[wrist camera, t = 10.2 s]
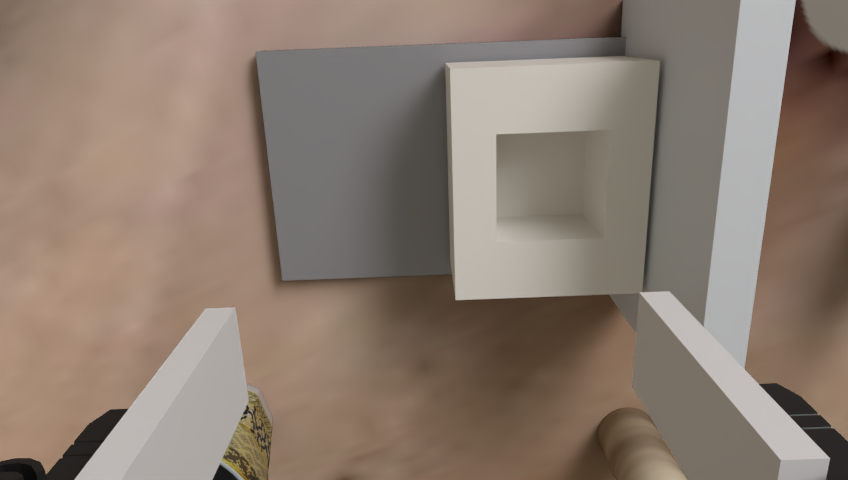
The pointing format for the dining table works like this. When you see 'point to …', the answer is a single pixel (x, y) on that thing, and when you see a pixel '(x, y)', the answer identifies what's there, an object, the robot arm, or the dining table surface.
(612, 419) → the dowel
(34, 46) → the dining table surface
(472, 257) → the sliding block
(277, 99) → the backstop wall
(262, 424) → the ceramic cup
